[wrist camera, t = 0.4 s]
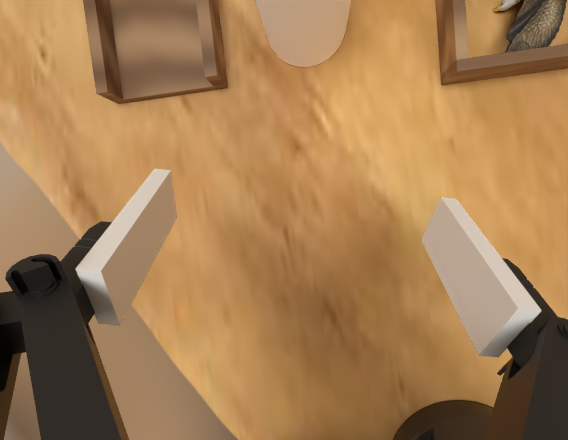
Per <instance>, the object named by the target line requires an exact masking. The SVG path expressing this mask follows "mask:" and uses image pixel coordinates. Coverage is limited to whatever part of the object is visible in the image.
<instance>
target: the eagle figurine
mask: <svg viewBox="0 0 568 440" xmlns="http://www.w3.org/2000/svg"><path fill="white" fill-rule="evenodd" d="M519 1H521V0H504V1H503V2H502V3H501V4H500V5H499V6H498V7H496V8H494V9H493V12H497V11H504V10H507V9H509V8H510V7H512V6H513V5H515V4H516V3H518V2H519ZM566 2H567V0H524V3H523V5H522V7H521V9H520V11H519V12H518V14H517V17H516V21H515V23H514V24H513V26H512V27H511V29H510V30H509V32H508V35H507V37H506V39H507V40H508V39H509V41H513V42H512V43H511V45H510V46H509V48H508V50H507V52H506V53H508V52H515V51H522V50H528V49H535V48H542V47H548V46H549V45H550V44H551V42H552V40H553V39H554V38H555V37H556V34H557V32H558V31H559V27H560V25H561V22H562V20H563V14H564V11H565V8H566Z"/></svg>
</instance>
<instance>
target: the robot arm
mask: <svg viewBox="0 0 568 440" xmlns="http://www.w3.org/2000/svg"><path fill="white" fill-rule="evenodd" d="M176 218H177V212H176V205H175V197H174V190H173V182H172V175H171V170H163V169H154V170H153V172H152V173H151V174H150V175H149V177H148V178H147V179H146V180H145V182H144V183H143V184H142V185H141V187H140V188H139V189H138V190H137V192H136V193H135V194H134V196H133V197H132V198H131V199H130V201H129V202H128V203H127V204H126V206H125V207H124V208H123V209H122V211H121V212H120V213H119V214H118V216H117V217H116V218H115V219H114V221H113V222H102V221H101V222H99V223H98V224H96V225H94V226H93V227H91V228H90V229H88V231H87V232H86V233H85V234H84V235H83V236H82V238H81V240H79V241H78V242H77V243H76V244H75V247H73V248H72V249H71V250H70V251H69V253H68V254H67V255H66V256H65V257H64V258H63V260H62V261H61V262H60V261H59V260H58V259H57V257H55V256H52V255H49V254H48V255H47V254H40V255H36V256H30V257H28V258H25V259H23V260H21V261H19V262H17V263H16V264H14V265H13V266H12V267H11V268H10V269H9V270H8V272H7V273H6V281H7V282H8V284H9V285H10V287H11V288H12V290H13V291H10V292H3V293H0V440H4V435H5V430H6V425H7V420H8V415H9V410H10V405H11V400H12V396H13V390H14V386H15V381H16V376H17V371H18V366H19V361H20V356H21V353H23V352H26V353H27V358H28V364H29V370H30V376H31V382H32V388H33V394H34V400H35V405H36V411H37V418H38V423H39V429H40V435H41V440H129V438H128V435H127V433H126V430H125V427H124V424H123V421H122V418H121V415H120V412H119V409H118V407H117V404H116V401H115V398H114V395H113V392H112V389H111V386H110V384H109V381H108V378H107V375H106V372H105V369H104V367H103V364H102V361H101V358H100V355H99V352H98V349H97V346H96V343H95V341H94V338H93V335H92V332H91V329H90V327H89V325H88V323H89V321H90V320H91V318H92V316H93V315H94V314H95V317H96V319H97V321H98V323H99V324H110V325H121V323H122V321H123V319H124V317H125V315H126V313H127V312H128V309H129V308H130V306H131V304H132V302H133V300H134V298H135V296H136V294H137V292H138V291H139V289H140V287H141V285H142V283H143V281H144V279H145V277H146V275H147V273H148V272H149V270H150V268H151V266H152V264H153V262H154V260H155V258H156V256H157V254H158V252H159V251H160V249H161V247H162V245H163V243H164V241H165V239H166V237H167V235H168V233H169V232H170V230H171V228H172V226H173V224H174V222H175V220H176ZM421 241H422V243H423V245H424V247H425V249H426V251H427V253H428V255H429V257H430V259H431V261H432V263H433V265H434V267H435V269H436V271H437V273H438V275H439V277H440V279H441V281H442V284H443V286H444V288H445V290H446V292H447V294H448V296H449V298H450V300H451V302H452V304H453V306H454V308H455V310H456V312H457V314H458V316H459V318H460V320H461V322H462V324H463V326H464V328H465V330H466V332H467V334H468V336H469V338H470V340H471V342H472V344H473V346H474V348H475V350H476V352H477V354H478V356H489V357H499V356H500V355H501V354H502V353H503V352H504V351H505V350H506V349H507V348H508V350H509V351H510V353H511V355H512V356H513V357H512V358H511V359H510V360H509V361H508V362H507V363H506V364H505V365H504V366H503V367H502V368H501V369H500V371H499V372H498V373H497V374H498V375H500V376H501V375H502V374H503V373H504V372H505V373H504V376H503V379H502V382H501V385H500V389H499V392H498V395H497V398H496V401H495V405H494V408H491V407H489V406H486V405H483V404H480V403H475V402H469V401H448V402H442V403H438V404H434V405H432V406H429V407H427V408H424V409H423V410H421V411H419V412H417V413H416V414H414V415H413V416H412V417H411V418H409V419H408V420H407V421H406V422H405V423H404V424H403V426H402V427H401V428H400V429H399V431H398V432H397V434H396V436H395V438H394V440H568V320H567V319H565V318H560V317H558V316H557V315H556V314H555V313H554V311H553V310H552V309H551V308H550V306H549V305H548V304H547V303H546V301H545V300H544V299H543V298H542V296H541V295H540V294H539V293H538V291H537V290H536V289H535V288H533V285H532V284H531V283H530V281H529V280H527V278H526V276H525V275H524V274H523V273H522V271H521V270H520V269H519V268H518V267H517V266H515V265H514V264H513V263H512V262H510V261H509V260H508V259H503V258H501V257H500V255H499V254H498V253H497V251H496V250H495V249H494V247H493V246H492V245H491V244H490V242H489V241H488V240H487V238H486V237H485V236H484V234H483V233H482V232H481V230H480V229H479V228H478V227H477V225H476V224H475V223H474V221H473V220H472V219H471V217H470V216H469V215H468V214H467V212H466V211H465V210H464V208H463V207H462V206H461V204H460V203H459V202H458V200H457V199H453V198H443V197H441V198H440V200H439V202H438V205H437V207H436V209H435V211H434V213H433V215H432V218H431V220H430V222H429V224H428V226H427V228H426V230H425V233H424V235H423V237H422V239H421Z"/></svg>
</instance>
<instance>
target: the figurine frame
mask: <svg viewBox="0 0 568 440" xmlns="http://www.w3.org/2000/svg"><path fill="white" fill-rule="evenodd" d="M436 12H437V27H438V41H439V56H440V71H441V85H448V84H455V83H462V82H469V81H477V80H484V79H491V78H499V77H506V76H513V75H521V74H528V73H535V72H543V71H550V70H557V69H565V68H568V44H563V45H556V46H549V47H542V48H535V49H528V50H522V51H515V52H508V53H501V54H494V55H487V56H480V57H473V58H468V42H467V25H466V9H465V0H436Z"/></svg>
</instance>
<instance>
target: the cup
mask: <svg viewBox="0 0 568 440" xmlns="http://www.w3.org/2000/svg"><path fill="white" fill-rule="evenodd" d="M255 1H256V5H257V8H258V11H259V14H260V17H261V21H262V24H263V27H264V30H265V33H266V37H267V40H268V43H269V45H270V47H271V49H272V50H273V52H274V53H275V54H276V55H277V56H278V57H279V58H280V59H281V60H283V61H284V62H286V63H288V64H290V65H293V66H297V67H311V66H315V65H318V64H320V63H322V62H324V61H326V60H327V59H329V58H330V57H331V56H332V55H333V54H334V53H335V52H336V51H337V49H338V48H339V47H340V45H341V43H342V41H343V38H344V35H345V32H346V26H347V21H348V15H349V10H350V4H351V0H255Z"/></svg>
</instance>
